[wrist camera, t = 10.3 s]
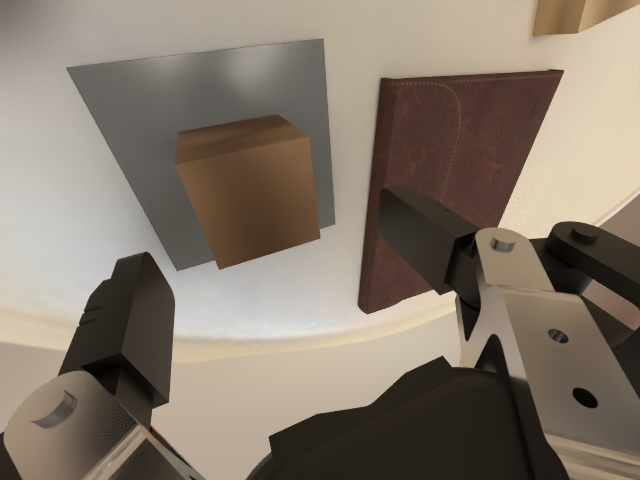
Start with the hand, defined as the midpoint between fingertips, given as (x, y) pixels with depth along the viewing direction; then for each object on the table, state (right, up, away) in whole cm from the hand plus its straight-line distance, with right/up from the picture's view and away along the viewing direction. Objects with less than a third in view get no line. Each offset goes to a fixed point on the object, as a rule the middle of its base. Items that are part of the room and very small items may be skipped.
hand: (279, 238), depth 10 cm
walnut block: (-3, +4, +6) cm, 8 cm away
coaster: (-3, +4, +6) cm, 8 cm away
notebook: (+12, +3, +15) cm, 19 cm away
